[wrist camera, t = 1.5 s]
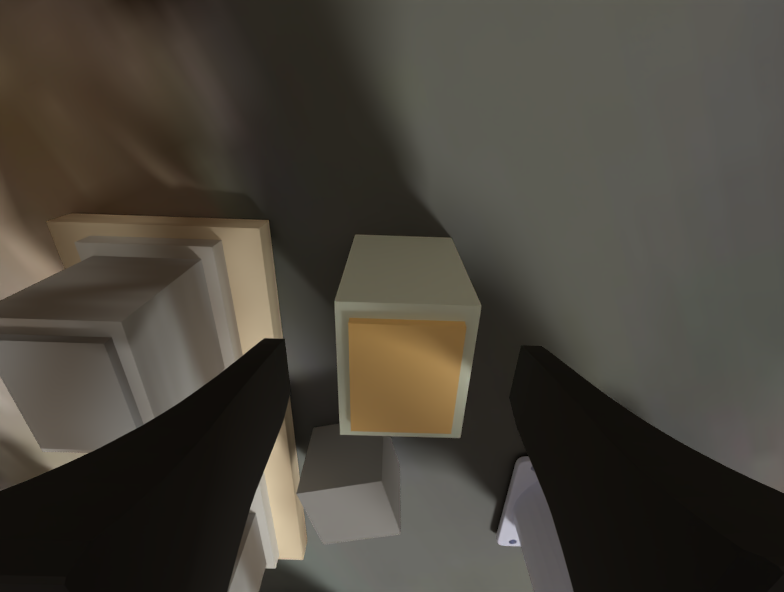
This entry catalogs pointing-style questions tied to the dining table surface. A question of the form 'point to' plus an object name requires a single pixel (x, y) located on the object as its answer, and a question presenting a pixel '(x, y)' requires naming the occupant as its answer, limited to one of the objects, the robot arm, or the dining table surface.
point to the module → (404, 337)
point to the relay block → (350, 486)
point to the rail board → (151, 346)
